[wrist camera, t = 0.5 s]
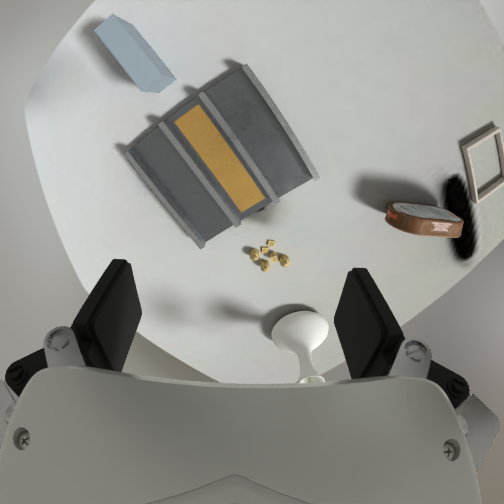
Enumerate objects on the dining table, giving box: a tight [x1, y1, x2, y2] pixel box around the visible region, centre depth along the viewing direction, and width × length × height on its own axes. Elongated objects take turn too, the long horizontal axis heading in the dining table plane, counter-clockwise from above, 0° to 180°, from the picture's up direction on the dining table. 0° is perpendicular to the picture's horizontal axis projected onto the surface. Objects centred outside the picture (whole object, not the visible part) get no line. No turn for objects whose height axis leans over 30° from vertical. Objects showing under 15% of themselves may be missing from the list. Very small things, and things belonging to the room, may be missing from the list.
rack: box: [124, 64, 320, 249], centre depth 35 cm, size 20×18×2 cm
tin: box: [385, 202, 463, 238], centre depth 36 cm, size 15×3×8 cm, turn 88°
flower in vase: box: [271, 311, 329, 383], centre depth 42 cm, size 13×11×25 cm
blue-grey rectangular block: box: [94, 14, 176, 93], centre depth 25 cm, size 3×12×7 cm, turn 33°
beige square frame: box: [462, 126, 504, 204], centre depth 34 cm, size 12×12×2 cm
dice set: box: [250, 240, 289, 272], centre depth 44 cm, size 5×5×2 cm
